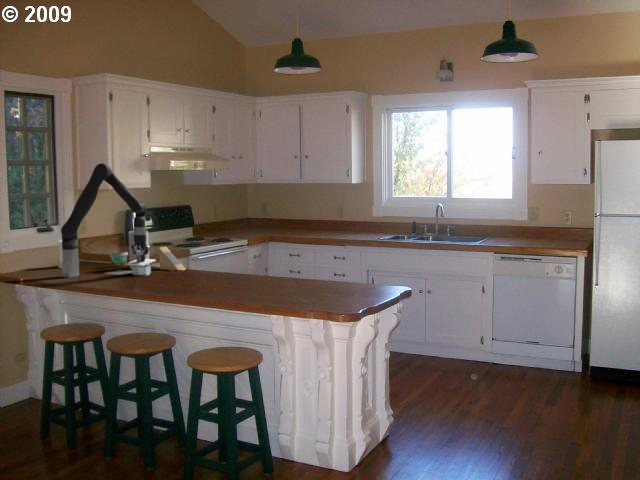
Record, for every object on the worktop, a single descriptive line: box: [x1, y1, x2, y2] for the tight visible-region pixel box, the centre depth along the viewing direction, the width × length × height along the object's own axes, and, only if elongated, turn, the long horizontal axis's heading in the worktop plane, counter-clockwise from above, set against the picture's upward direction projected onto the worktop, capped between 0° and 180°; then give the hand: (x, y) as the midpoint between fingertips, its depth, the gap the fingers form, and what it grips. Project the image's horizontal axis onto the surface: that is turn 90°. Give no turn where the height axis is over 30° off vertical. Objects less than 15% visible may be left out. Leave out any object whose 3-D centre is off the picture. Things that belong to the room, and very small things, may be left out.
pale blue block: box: [131, 264, 152, 277], centre depth 429 cm, size 11×11×6 cm
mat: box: [102, 269, 132, 276], centre depth 436 cm, size 16×16×1 cm
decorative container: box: [57, 239, 63, 269], centre depth 465 cm, size 12×12×18 cm
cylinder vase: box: [128, 230, 150, 270], centre depth 452 cm, size 12×12×25 cm
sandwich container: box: [158, 246, 186, 272], centre depth 448 cm, size 9×15×15 cm, turn 69°
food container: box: [108, 251, 129, 268], centre depth 462 cm, size 12×6×10 cm, turn 105°
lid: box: [126, 254, 157, 266], centre depth 428 cm, size 13×13×6 cm
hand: (140, 261), depth 429 cm, fingers closed on lid, 3 cm apart
